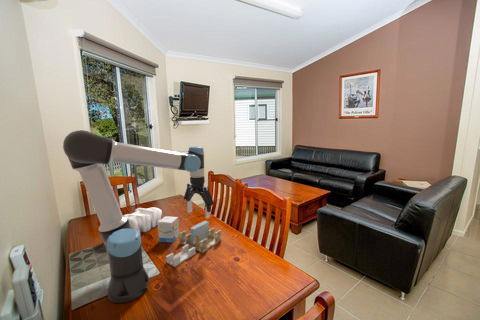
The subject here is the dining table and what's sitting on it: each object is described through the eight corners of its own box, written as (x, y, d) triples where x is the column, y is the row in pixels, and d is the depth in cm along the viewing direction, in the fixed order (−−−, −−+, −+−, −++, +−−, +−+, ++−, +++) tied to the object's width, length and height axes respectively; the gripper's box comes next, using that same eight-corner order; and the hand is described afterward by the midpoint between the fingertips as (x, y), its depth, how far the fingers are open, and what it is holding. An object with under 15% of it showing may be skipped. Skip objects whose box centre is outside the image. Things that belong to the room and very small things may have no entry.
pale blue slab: (195, 245, 120) (194, 229, 119) (191, 243, 122) (190, 228, 120) (209, 236, 129) (208, 221, 128) (205, 235, 131) (204, 220, 129)
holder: (174, 267, 104) (174, 260, 103) (165, 262, 108) (165, 256, 107) (196, 253, 114) (195, 247, 114) (187, 249, 118) (187, 243, 118)
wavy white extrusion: (120, 245, 124) (118, 227, 123) (103, 238, 132) (100, 221, 131) (169, 221, 154) (168, 206, 153) (152, 217, 162) (151, 202, 161)
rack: (202, 253, 115) (201, 242, 114) (179, 243, 124) (179, 233, 124) (221, 240, 127) (221, 230, 126) (199, 232, 136) (199, 223, 136)
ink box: (172, 243, 125) (171, 222, 124) (158, 241, 127) (157, 221, 125) (179, 235, 134) (178, 216, 132) (166, 234, 135) (165, 215, 134)
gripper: (220, 177, 116) (220, 217, 119) (186, 172, 130) (188, 208, 133) (209, 180, 110) (210, 222, 113) (176, 174, 124) (177, 212, 127)
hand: (198, 214), depth 123 cm, fingers open, 13 cm apart
